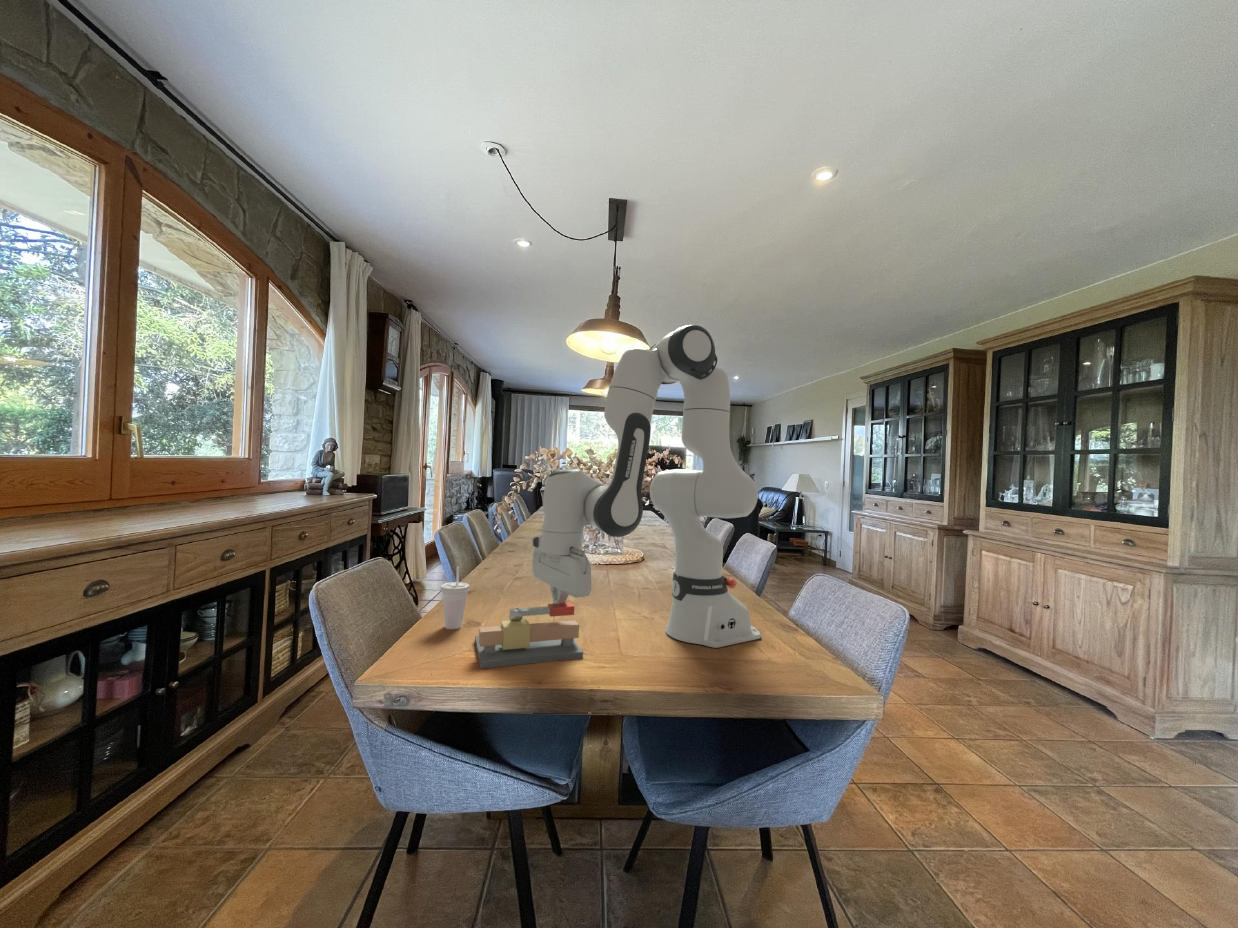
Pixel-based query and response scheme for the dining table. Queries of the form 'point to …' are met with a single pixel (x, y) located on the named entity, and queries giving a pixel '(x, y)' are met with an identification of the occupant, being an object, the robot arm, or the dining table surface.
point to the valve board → (528, 653)
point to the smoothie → (454, 602)
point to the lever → (542, 611)
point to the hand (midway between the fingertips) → (558, 607)
